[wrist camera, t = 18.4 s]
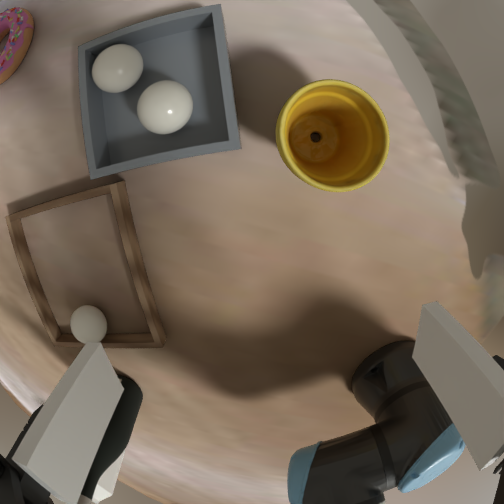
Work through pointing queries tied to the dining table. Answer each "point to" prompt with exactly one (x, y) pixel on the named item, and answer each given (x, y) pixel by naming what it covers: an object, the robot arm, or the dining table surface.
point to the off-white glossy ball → (165, 107)
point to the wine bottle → (114, 436)
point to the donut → (14, 39)
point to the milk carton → (107, 481)
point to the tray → (133, 258)
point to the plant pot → (333, 135)
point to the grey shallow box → (154, 70)
